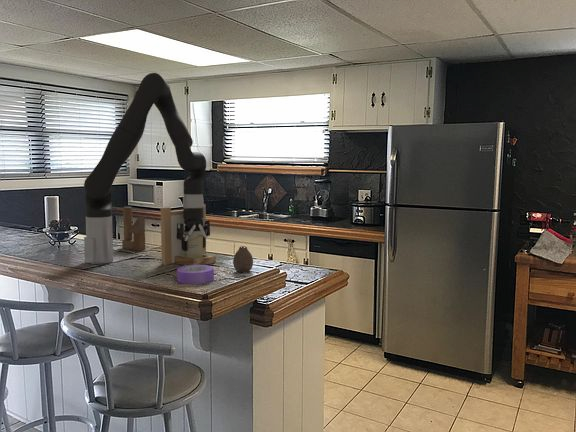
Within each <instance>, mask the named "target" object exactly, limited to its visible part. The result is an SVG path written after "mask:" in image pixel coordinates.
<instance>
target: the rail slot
mask: <svg viewBox="0 0 576 432" xmlns="http://www.w3.org/2000/svg"><path fill="white" fill-rule="evenodd" d="M174 262H175V263H174V264H178V265H182V266H188V265H210V264H211V265H212V264H215V263H216V255H213V254H207V253H206V254H203V258H197V259H191V258H186V257H181V256H174Z"/></svg>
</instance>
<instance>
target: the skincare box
mask: <svg viewBox="0 0 576 432" xmlns="http://www.w3.org/2000/svg"><path fill="white" fill-rule="evenodd" d="M186 232H187V233H188V231H186ZM187 241H188V251H186V258H191V259H197V258H203V231H194V232H192V234H191V236H189V238H188V239H187Z"/></svg>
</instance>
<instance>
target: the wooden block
mask: <svg viewBox="0 0 576 432" xmlns="http://www.w3.org/2000/svg"><path fill="white" fill-rule="evenodd" d="M122 208H123V210H122V211H123V215H122V216H123V239H122V242H121V243H122V246H121V247H122V249H125V248H126V250H133V251H145V250H146V234H145V233H146V219H145V218H146V217H145V216H142V217H140V216H139V217H137V219H136V220H135V221H134V223H133V207H132V206H123V207H122Z"/></svg>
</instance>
